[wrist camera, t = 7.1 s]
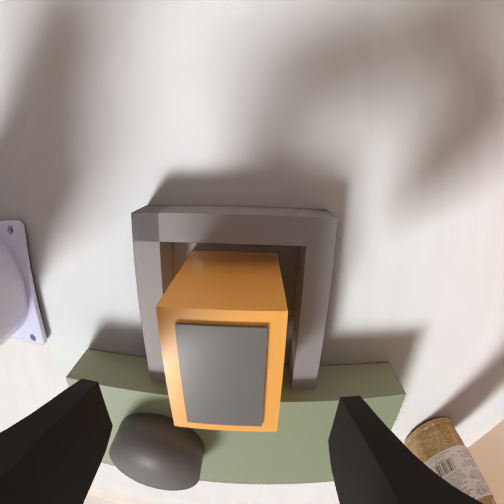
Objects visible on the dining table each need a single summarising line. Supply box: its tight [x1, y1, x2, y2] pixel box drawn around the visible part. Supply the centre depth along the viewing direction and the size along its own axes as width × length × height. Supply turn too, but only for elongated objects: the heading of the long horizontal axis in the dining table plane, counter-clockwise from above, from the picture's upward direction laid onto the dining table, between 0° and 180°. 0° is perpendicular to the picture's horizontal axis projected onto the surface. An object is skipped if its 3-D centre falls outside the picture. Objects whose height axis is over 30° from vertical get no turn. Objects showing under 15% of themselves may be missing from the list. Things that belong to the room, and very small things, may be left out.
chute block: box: [156, 251, 288, 432], centre depth 13 cm, size 4×5×6 cm
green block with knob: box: [66, 205, 406, 490], centre depth 14 cm, size 18×17×5 cm
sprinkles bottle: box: [404, 417, 496, 504], centre depth 13 cm, size 5×5×13 cm
